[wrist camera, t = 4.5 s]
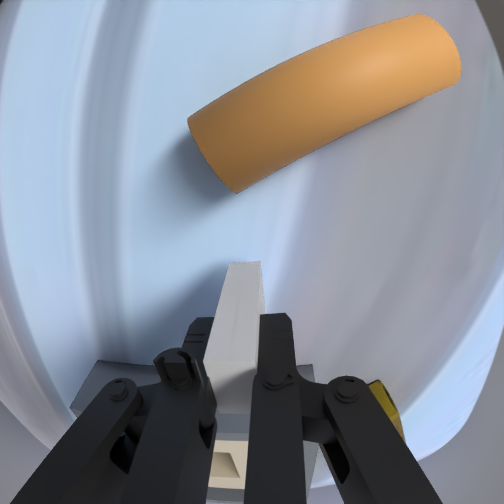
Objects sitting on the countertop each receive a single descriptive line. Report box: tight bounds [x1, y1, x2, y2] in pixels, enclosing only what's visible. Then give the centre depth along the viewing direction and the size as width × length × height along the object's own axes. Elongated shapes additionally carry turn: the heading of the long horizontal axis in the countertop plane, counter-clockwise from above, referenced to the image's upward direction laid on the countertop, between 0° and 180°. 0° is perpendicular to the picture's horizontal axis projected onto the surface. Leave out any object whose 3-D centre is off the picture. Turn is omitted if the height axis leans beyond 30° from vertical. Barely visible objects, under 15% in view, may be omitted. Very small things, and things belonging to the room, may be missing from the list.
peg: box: [187, 14, 461, 193], centre depth 10 cm, size 4×4×12 cm
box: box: [70, 360, 319, 504], centre depth 20 cm, size 17×17×6 cm
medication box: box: [368, 380, 406, 443], centre depth 19 cm, size 12×3×4 cm, turn 29°
